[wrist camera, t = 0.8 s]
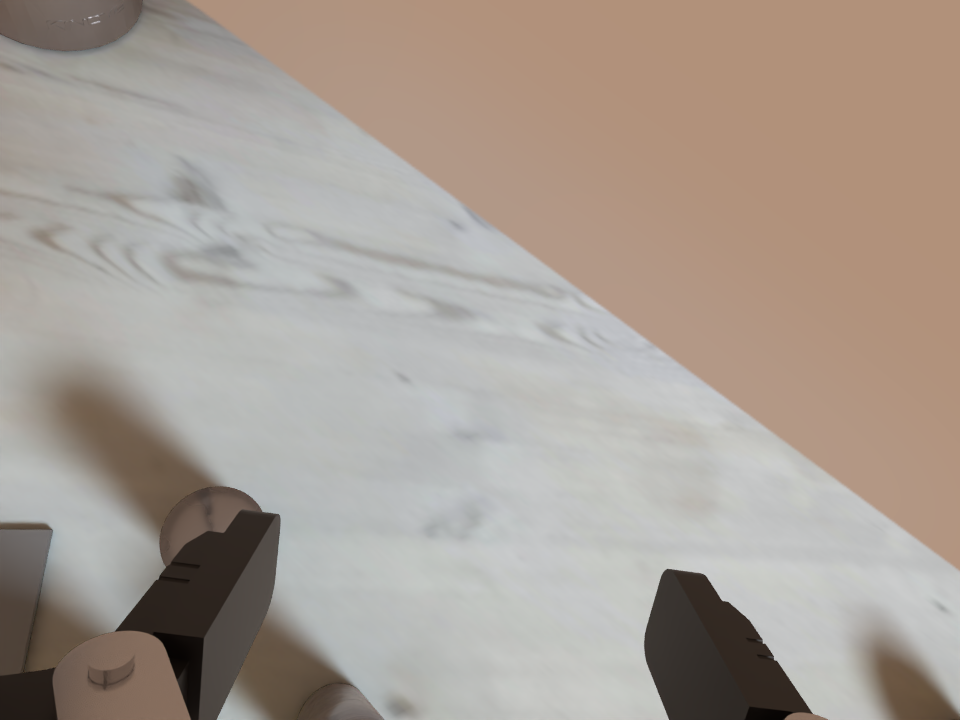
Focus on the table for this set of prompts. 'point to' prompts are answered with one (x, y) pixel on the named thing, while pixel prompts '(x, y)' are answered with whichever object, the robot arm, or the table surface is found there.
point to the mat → (19, 592)
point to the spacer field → (330, 710)
